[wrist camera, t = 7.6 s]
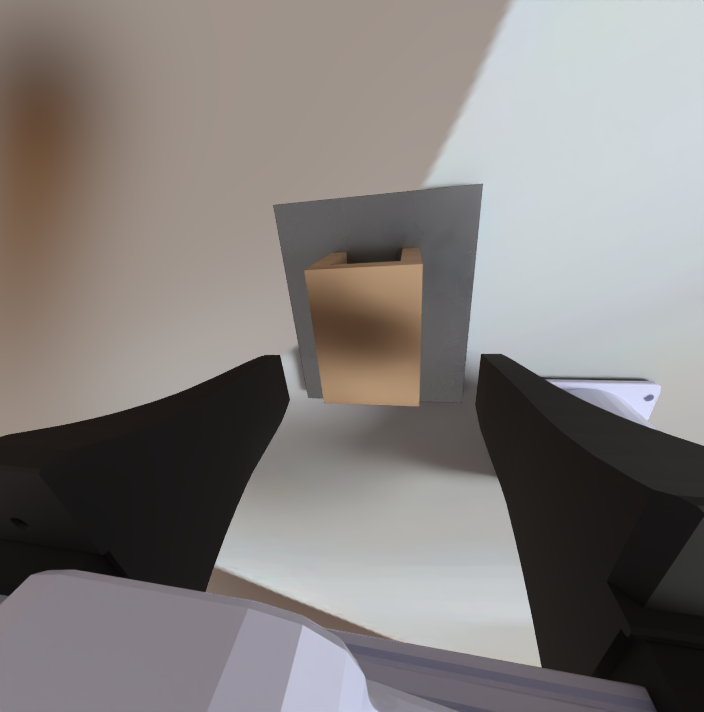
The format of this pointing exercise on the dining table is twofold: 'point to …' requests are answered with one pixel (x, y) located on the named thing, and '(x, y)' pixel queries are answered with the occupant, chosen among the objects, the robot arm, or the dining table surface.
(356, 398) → the box
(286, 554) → the dining table surface
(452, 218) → the base plate
